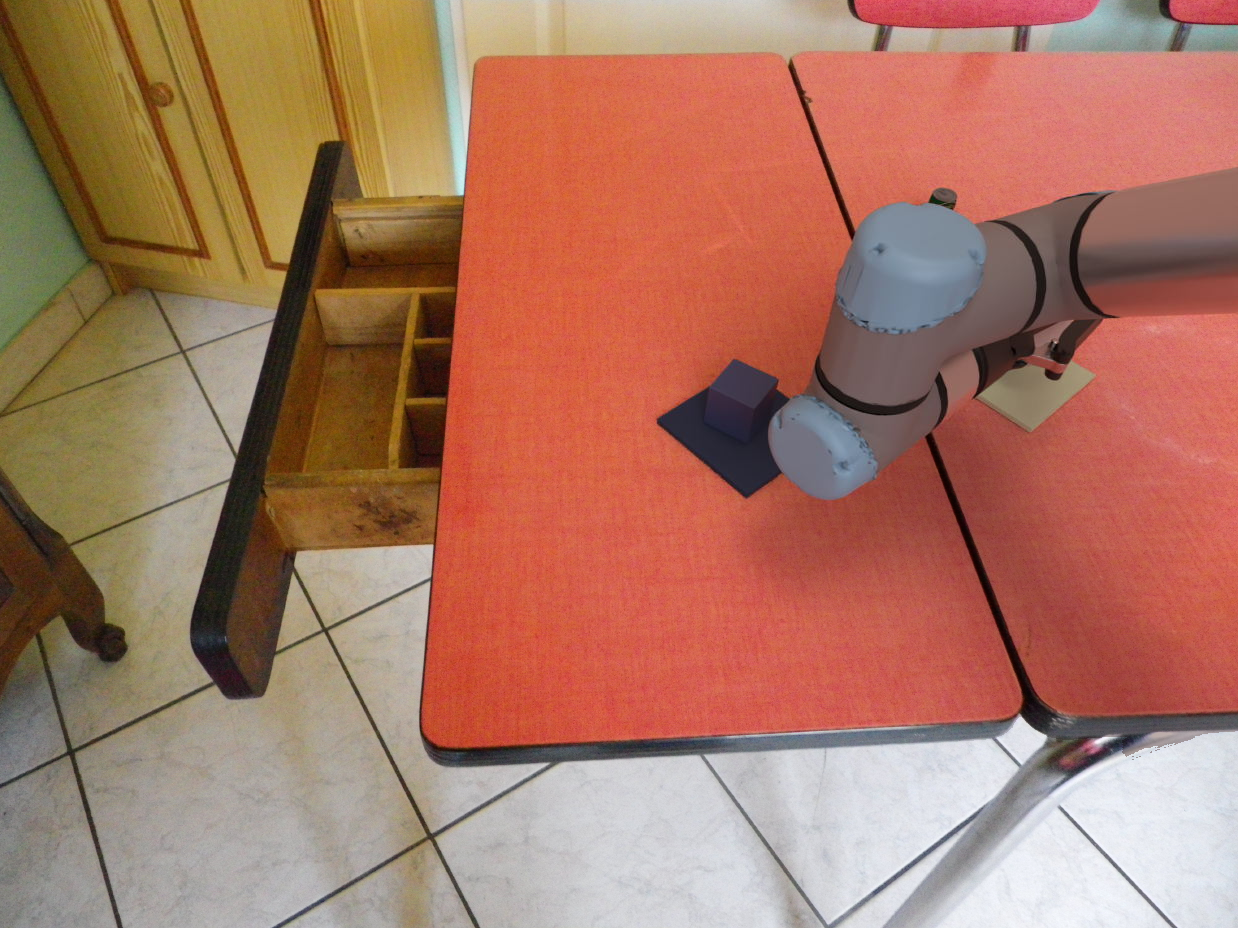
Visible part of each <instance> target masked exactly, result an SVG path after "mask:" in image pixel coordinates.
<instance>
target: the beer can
mask: <svg viewBox="0 0 1238 928" xmlns="http://www.w3.org/2000/svg"><path fill="white" fill-rule="evenodd" d="M957 199H958V194H957V192H956V191H955V190H953V189H951V188H948V187H937V188H935V189H934V190H933V191H932V193H931V195H930V197H929V199H928V202H927V203H932V204H936V205H940V206H944V207H946V208H949V209H951V210H953V211H955V208H956V205H957Z"/></svg>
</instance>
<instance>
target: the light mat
mask: <svg viewBox="0 0 1238 928" xmlns="http://www.w3.org/2000/svg"><path fill="white" fill-rule="evenodd" d="M1044 372H1045V368H1042V367H1038V366H1035V365H1032V366H1029V367H1028V366H1025V367H1023V368H1020V369H1013V370H1010V371H1008V372H1007V373H1005V374H1004V375H1003V376H1002V377H1001V378H1000V379H998V380H997V381H996V382H995V383H993V384H992V385H991V386H989V387H988V388H987V389H986V390H984V391H983V392H982V393H980V394H979V395H978V396H977V397H975V398H974V399H977V400H978V401H979V402H981V403H983V404H984V405H986V406H987V407H989V408H990V409H992V410H993V411H995V412H997V413H998V414H1000V415H1001V416H1003V417H1004V418H1006V419H1008V420H1009V421H1011V422H1012V423H1014V424H1015V425H1017V426H1019V428H1021V429H1022V430H1024V431H1026V432H1027V433H1029V434H1032V433H1033V432H1034V431H1035V430H1036V429H1037V428H1038V427H1039V426H1041V425H1042V424H1043V423H1044V422H1045V421H1046V420H1048V419H1049V418H1050V417H1051V416H1053V414H1055V413H1056V412H1057V411H1058V410H1059V409H1060V408H1061V407H1063V406H1064V405H1065V404H1066V403H1068V402H1069V401H1070V400H1071V399H1072V398H1073V397H1074V396H1075V395H1077V394H1078V393H1079V392H1081V391H1082V389H1084V388H1085V387H1086V386H1087V385H1088V384H1090V383H1091V382H1093V380H1094V379H1095V377H1096V373H1094V372H1092V371H1090V370H1089V369H1087V368H1085V367H1083V366H1082V365H1080V364H1078V363H1077V362H1075V361H1073V360H1071V361H1070V363H1069V364H1068V366H1067V368H1066V370H1065V371H1064V373H1063V374H1062V376H1061V378H1060V379H1059V380H1057V381H1054V380H1050V379H1048V378H1047V377H1046V376H1045V374H1044Z"/></svg>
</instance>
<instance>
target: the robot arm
mask: <svg viewBox="0 0 1238 928" xmlns="http://www.w3.org/2000/svg"><path fill="white" fill-rule="evenodd" d="M834 285H835V287H834V288H835V290H834V296H833V299H832V304H831V308H830V312H829V316H828V319H827V324H826V327H825V332H824V334H823V339H822V343H821V346H820V350H819V352H818V354H817V356H816V358H815V361H814V365H813V368H812V372H811V375H810V379H809V383H808V385H807V387H805V389H804V390H803V391H802V392H800V393H799V394H795V395H792V396H791V397H789V399H790V400H789V401H788V402H787V403H786V404H785V405H784V406H783V407H782V408H781V409H780V410H779V411H777V412H776V413H775V415H774V416H773V418H772V419H771V421H770V424H769V428H768V441H769V447H770V450H771V453H772V456H773V458H774V460H775V462H776V464H777V466H778V467H779V469H780V470H781V472H782V473H781V474H782V475H783V476H784V477H785V478H786V479H787V480H788V481H789V482H790V483H792V484H794V485H795V486H796V487H797V488H798V489H799V490H800V491H801V492H802V493H803V494H806V495H807V496H810V497H812V498H814V499H817V500H823V501H836V500H840V499H843V498H845V497H847V496H848V495H850V494H852V493H853V492H854V491H856V490H858V489H860V488H861V487H862V486H864V485H865V484H867V483H871V482H873V481H874V480H875V479H877V478H878V477H879V474H880V473H881V472H882V471H884V470H885V469H886V468H887V467H889V466H890V465H891V464H892V463H894V462H895V461H896V460H897V459H899V458H900V457H902V455H904V454H905V453H907V452H908V451H909V450H910V449H911V448H913V447H915V445H916V444H917V443H919V442H920V441H921V440H923V439H924V438H925V437H926V436H928V435H929V434H930V433H931V432H932V431H934V430H935V429H936V428H938V427H939V426H940V425H942V424H943V423H944V422H945V421H947V420H948V419H949V418H950V417H952V416H953V415H955V414H956V413H958V411H959V410H961V409H962V408H963V407H965V406H966V405H967V404H969V402H971V401H972V400H974V399H976V398H975V397H977V396H978V395H979V394H980V393H982V392H983V391H984V390H986V389H987V388H988V387H989V386H991V385H992V384H993V383H995V382H996V381H997V380H998V379H1000V378H1001V377H1002V376H1003V375H1004V374H1005V373H1007V372H1008V371H1010V370H1013V369H1020V368H1023V367H1025V366H1026V365H1027V364H1031V365H1035V366H1038V367H1042V368H1045V372H1044V374H1045V376H1046V377H1047V378H1048V379H1050V380H1054V381H1057V380H1059V379H1060V378H1061V376H1062V374H1063V373H1064V371H1065V370H1066V368H1067V366H1068V364H1069V363H1070V361H1072V359H1073V357H1074V356H1075V353H1076V350H1078V348H1079V347H1080V346H1081V345H1082V344H1083V343H1084V342H1085V341H1086V340H1087V339H1088V338H1089V337H1090V336H1091V335H1092V334H1093V332H1095V330H1096V329H1097V328H1098V327H1099V326H1100V325H1101V324H1102V323H1103V320H1107V319H1122V318H1141V317H1142V318H1143V317H1144V318H1145V317H1169V316H1170V317H1172V316H1173V317H1175V316H1201V315H1230V314H1231V315H1233V314H1238V166H1235V167H1230V168H1224V169H1220V170H1215V171H1210V172H1209V171H1208V172H1204V173H1199V174H1194V175H1189V176H1184V177H1178V178H1174V179H1168V180H1163V181H1159V182H1158V181H1157V182H1154V183H1147V184H1144V185H1143V184H1142V185H1137V186H1132V187H1127V188H1123V189H1120V190H1114V189H1110V190H1109V189H1105V190H1100V191H1099V190H1098V191H1086V192H1081V193H1077V194H1073V195H1070V196H1065V197H1061V198H1059V199H1056V200H1054V201H1052V202H1050V203H1047V204H1043V205H1040V206H1036V207H1032V208H1028V209H1025V210H1022V211H1019V212H1016V213H1012V214H1008V215H1005V216H1002V217H998V218H996V219H995V218H994V219H991V220H985V221H980V222H977V223H974V222H973V221H971V220H970V219H969V218H967V217H966V216H965V215H963V214H961V213H959V212H958V211H956V210H951V209H949V208H946V207H944V206H940V205H936V204H932V203H928V202H923V203H922V204H920V205H918V204H917V205H916V204H913V203H911V202H907V201H898V202H893V203H889V204H885V205H883V206H881V207H879V208H877V209H875V210H873V211H871V212H870V213H869V214H868V215H866V217H865V218H863V220H862V221H861V222H860V223H859V225H858V226H857V228H856V230H855V232H854V235H853V238H852V241H851V243H850V246H849V247H848V249H847V251H846V254H845V257H844V259H843V264H842V266H841V267H840V269H839V270H838V273H837V277H836V281H835V284H834ZM1068 320H1072V323H1071V324H1070V325H1069V326H1068V327H1067V328H1066V329H1065V330H1064V331H1063V332H1062V334H1061V335H1060V337H1059V339H1056V338H1053V339H1052V340H1051V342H1050V343H1046V344H1044V346H1043V347H1035V342H1034V335H1035V334H1037V333H1039V332H1041V331H1043V330H1045V329H1047V328H1049V327H1051V326H1053V325H1055V324H1057V323H1059V322H1061V321H1068Z"/></svg>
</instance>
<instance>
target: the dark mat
mask: <svg viewBox="0 0 1238 928" xmlns="http://www.w3.org/2000/svg"><path fill="white" fill-rule="evenodd" d="M708 390H709V386H707V387H706V388H704V389H703V390H701V391H699V392H698V393H696V394H695V395H693V396H691V397H689V398H688V399H686V400H685V401H683V402H681V403H680V404H678V405H677V406H675V407H673V408H672V409H670V410H668V411H667V412H665V413H664V414H662V415H661V416H659V417H657V418H656V424H658V426H660V427H661V428H662V429H664V430H665V431H666V432H667V433H668V434H669V435H671V436H672V437H673V438H674V439H675V440H676V441H677V442H679V443H680V444H681V445H683V446H684V447H685V449H687V450H688V451H689V452H690V453H692V454H693V455H694V456H696V458H698V459H699V460H700V461H702V462H703V463H704V464H705V465H706V466H707V467H708V468H710V470H712V471H713V472H714V473H716V474H717V475H718V476H719V477H721V478H722V479H723V480H724V481H725V482H726V483H728V485H730V486H731V487H732V488H733V489H734V490H736V491H737V492H738V493H739V494H741V496H742V497H744V498H745V499H748V498H749V497H751V496H752V495H753V494H754V493H756V492H757V491H759V490H760V489H761V488H763V487H765V486H766V485H767V484H768V483H770V482H771V481H772V480H774V479H776V478H777V477H778V476H780V475H781V474H783V473H782V472H781V470H780V469H779V467H778V466H777V464H776V462H775V460H774V458H773V456H772V453H771V450H770V447H769V441H768V428H769V424H770V421H771V419H772V418H773V416H774V415H775V413H776V412H777V411H779V410H780V409H781V408H782V407H783V406H784V405H785V404H786V403H787V402H788V401H789V400H790V397H788V396H787V395H786V394H784V393H783V392H781V391H780V390H778V389H777V390H776V394H775V398H774V403H773V407H772V411H771V415H770V416H769V417H768V418H767V420H766V421H765V422H764V423H763V425H762V426H761V427H760V429H759V430H758V431H757V432H756V434H755V435H754V436H753V437H752V439H751V440H750V441H749V442H748V444H746V443H744V442H742V441H740V440H738V439H736V438H734V437H732V436H730V435H728V434H726V433H724V432H722V431H720V430H718V429H716V428H714V427H712V426H710V425H708V424H706V423H704V417H705V410H706V404H707V397H708Z"/></svg>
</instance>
